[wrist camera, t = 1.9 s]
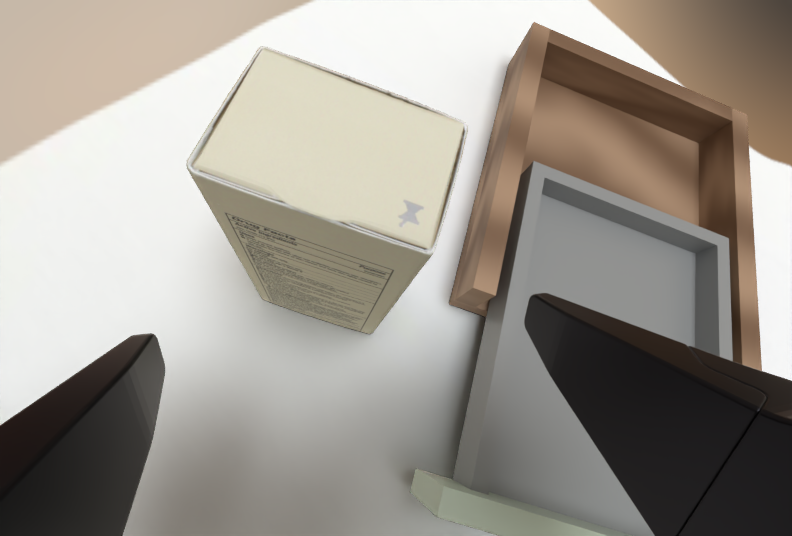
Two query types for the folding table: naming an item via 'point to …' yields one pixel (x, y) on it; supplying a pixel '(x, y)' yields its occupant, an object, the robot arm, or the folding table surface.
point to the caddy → (614, 161)
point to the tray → (529, 379)
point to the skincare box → (327, 186)
